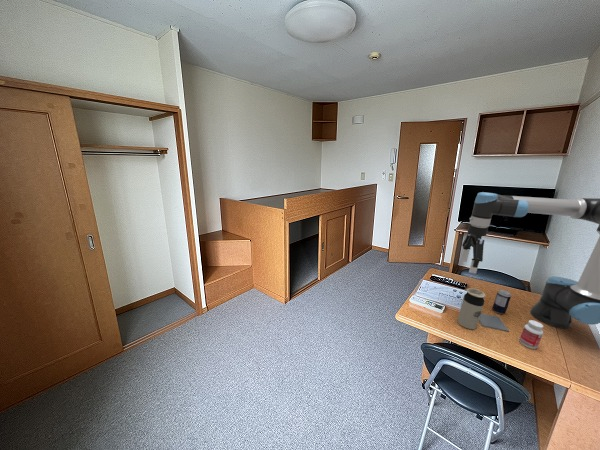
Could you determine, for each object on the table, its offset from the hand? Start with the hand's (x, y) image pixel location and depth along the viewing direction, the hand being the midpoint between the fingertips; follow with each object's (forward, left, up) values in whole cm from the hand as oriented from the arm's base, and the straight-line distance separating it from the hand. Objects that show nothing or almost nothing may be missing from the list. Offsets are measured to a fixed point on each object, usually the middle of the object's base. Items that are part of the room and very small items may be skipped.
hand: (467, 266), depth 120 cm
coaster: (-16, +1, -27) cm, 31 cm away
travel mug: (-3, +8, -27) cm, 29 cm away
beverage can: (-24, -11, -27) cm, 38 cm away
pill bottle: (-26, +13, -27) cm, 40 cm away
